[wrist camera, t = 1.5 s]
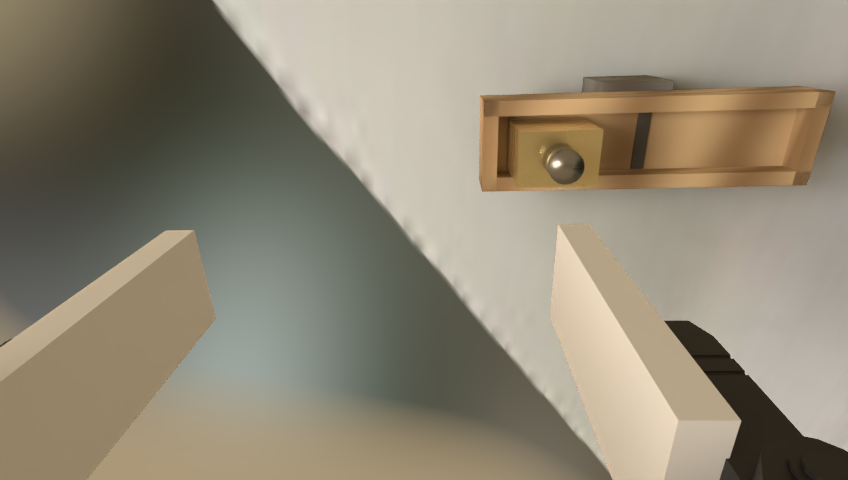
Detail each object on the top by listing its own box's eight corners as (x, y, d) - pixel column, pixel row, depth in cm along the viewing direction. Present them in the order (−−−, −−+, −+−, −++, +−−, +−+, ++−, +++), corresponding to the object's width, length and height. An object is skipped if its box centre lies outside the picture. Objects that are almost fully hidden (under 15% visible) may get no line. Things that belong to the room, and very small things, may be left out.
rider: (581, 116, 26) (614, 136, 21) (576, 165, 27) (607, 196, 22) (508, 118, 26) (524, 138, 21) (507, 167, 27) (521, 197, 22)
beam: (757, 71, 30) (838, 81, 24) (735, 163, 32) (804, 193, 26) (475, 80, 31) (484, 91, 25) (474, 169, 33) (482, 199, 27)
